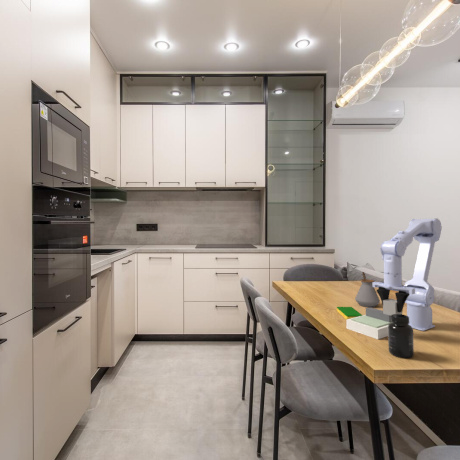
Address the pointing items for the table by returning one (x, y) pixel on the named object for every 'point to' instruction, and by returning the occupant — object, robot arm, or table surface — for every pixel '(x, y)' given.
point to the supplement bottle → (400, 336)
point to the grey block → (390, 307)
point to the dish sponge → (348, 312)
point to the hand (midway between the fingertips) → (392, 309)
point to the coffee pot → (367, 293)
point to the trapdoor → (374, 318)
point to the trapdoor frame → (367, 329)
